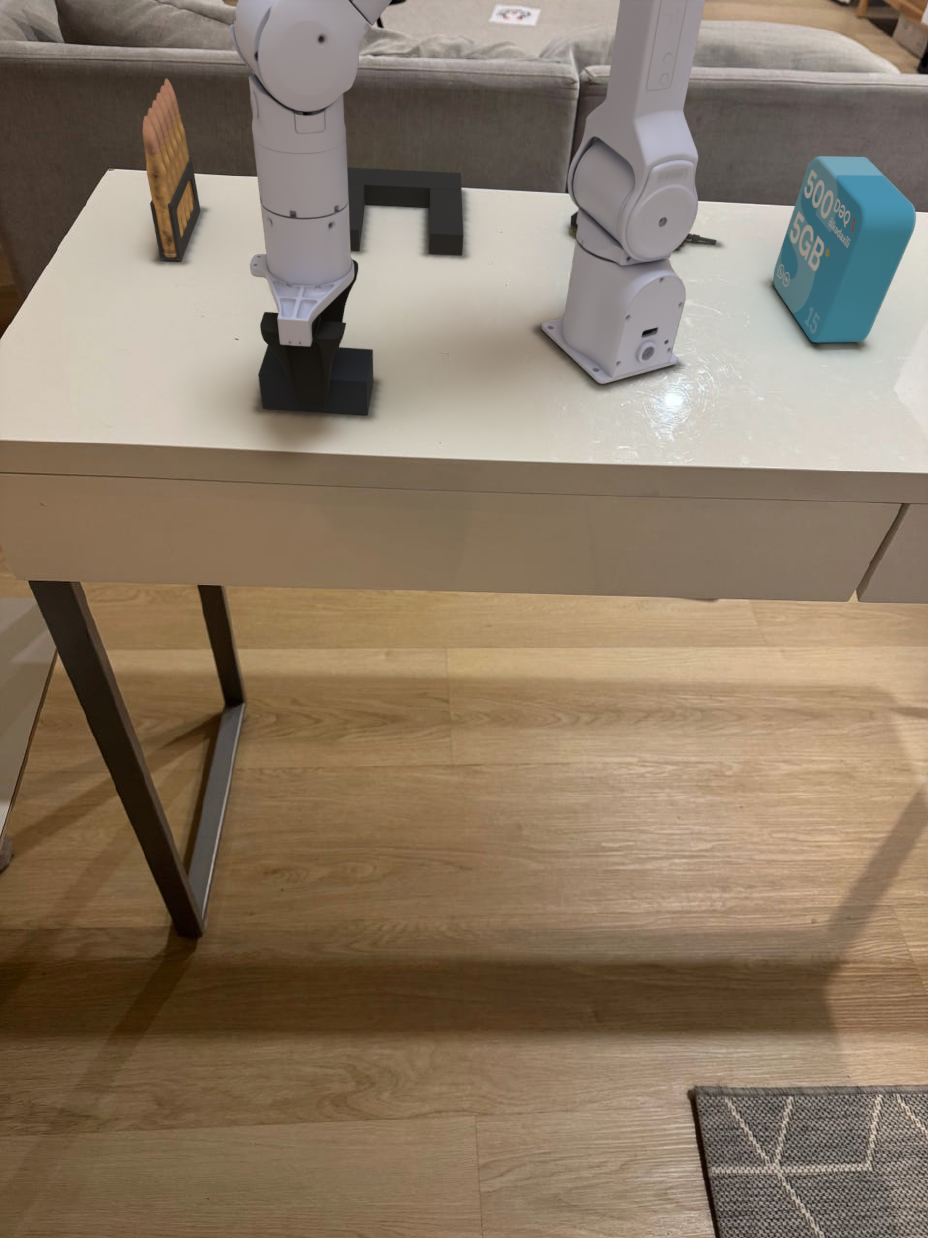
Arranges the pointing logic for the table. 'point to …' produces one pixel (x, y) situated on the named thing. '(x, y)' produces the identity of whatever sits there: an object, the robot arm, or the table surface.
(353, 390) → the black rectangular block
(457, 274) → the table surface
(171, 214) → the ammunition clip
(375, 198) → the black flat u-shaped piece
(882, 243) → the data package
